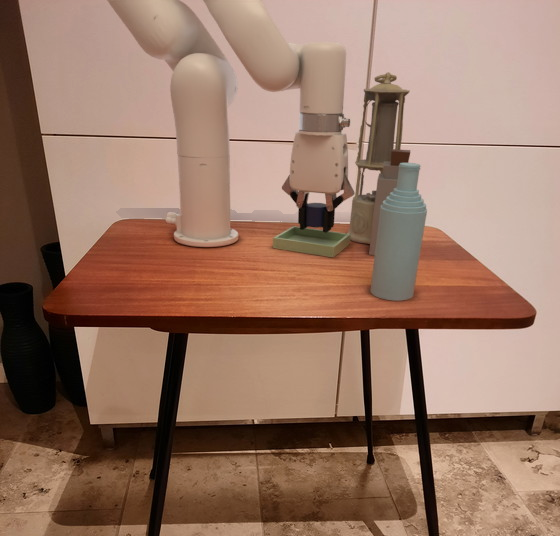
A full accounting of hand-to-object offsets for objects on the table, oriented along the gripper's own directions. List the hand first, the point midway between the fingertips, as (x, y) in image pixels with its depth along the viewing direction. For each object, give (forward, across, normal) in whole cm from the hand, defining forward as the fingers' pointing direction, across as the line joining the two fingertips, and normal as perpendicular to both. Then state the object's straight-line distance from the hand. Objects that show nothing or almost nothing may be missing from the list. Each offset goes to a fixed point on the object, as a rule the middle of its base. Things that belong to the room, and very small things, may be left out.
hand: (315, 228), depth 104 cm
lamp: (+4, -8, -13) cm, 15 cm away
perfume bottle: (+4, -13, -4) cm, 14 cm away
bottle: (+4, -19, +18) cm, 27 cm away
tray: (+3, 0, 0) cm, 3 cm away
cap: (-1, 0, 0) cm, 1 cm away
